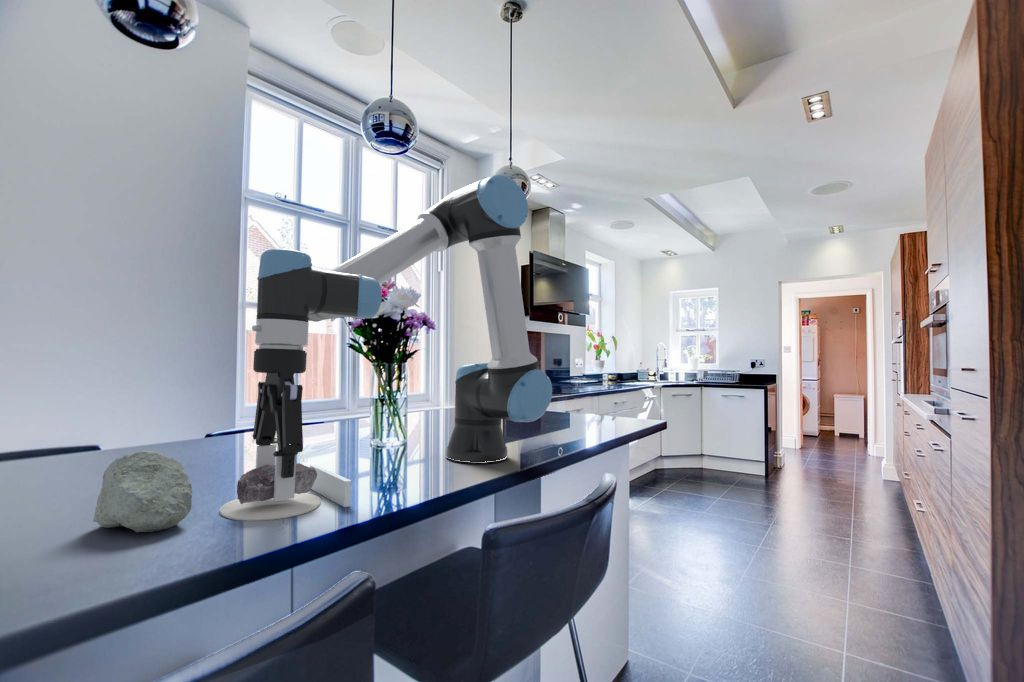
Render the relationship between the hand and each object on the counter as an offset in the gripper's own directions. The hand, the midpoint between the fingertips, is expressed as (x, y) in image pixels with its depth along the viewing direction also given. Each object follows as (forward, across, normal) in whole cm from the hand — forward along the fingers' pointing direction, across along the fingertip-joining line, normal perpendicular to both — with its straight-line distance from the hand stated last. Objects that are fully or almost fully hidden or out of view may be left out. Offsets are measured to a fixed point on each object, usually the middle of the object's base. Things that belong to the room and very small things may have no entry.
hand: (273, 492), depth 75 cm
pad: (+2, 0, 0) cm, 2 cm away
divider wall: (+2, 0, +9) cm, 9 cm away
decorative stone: (+2, -1, -16) cm, 16 cm away
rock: (+1, 0, 0) cm, 1 cm away
